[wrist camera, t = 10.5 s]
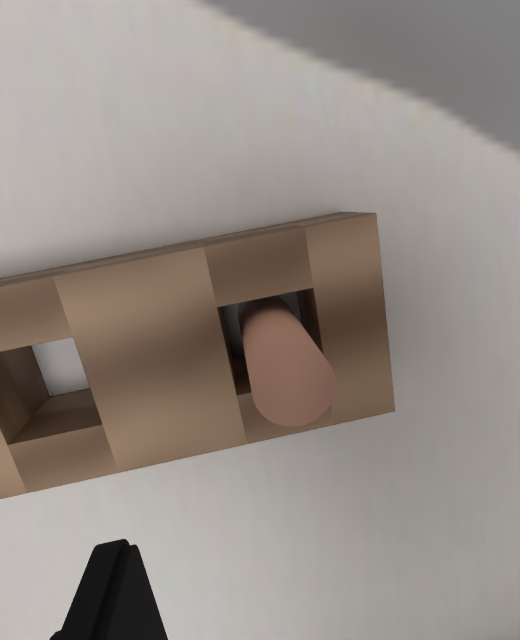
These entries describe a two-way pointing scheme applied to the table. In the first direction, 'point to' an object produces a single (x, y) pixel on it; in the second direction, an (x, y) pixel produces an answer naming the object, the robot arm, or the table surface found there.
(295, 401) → the peg
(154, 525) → the table surface
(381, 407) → the hole block
